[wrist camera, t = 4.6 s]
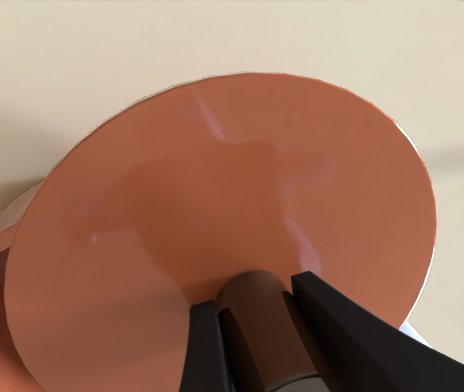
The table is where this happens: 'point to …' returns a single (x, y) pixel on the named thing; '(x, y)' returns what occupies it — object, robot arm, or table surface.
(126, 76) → the table surface
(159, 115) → the lid
